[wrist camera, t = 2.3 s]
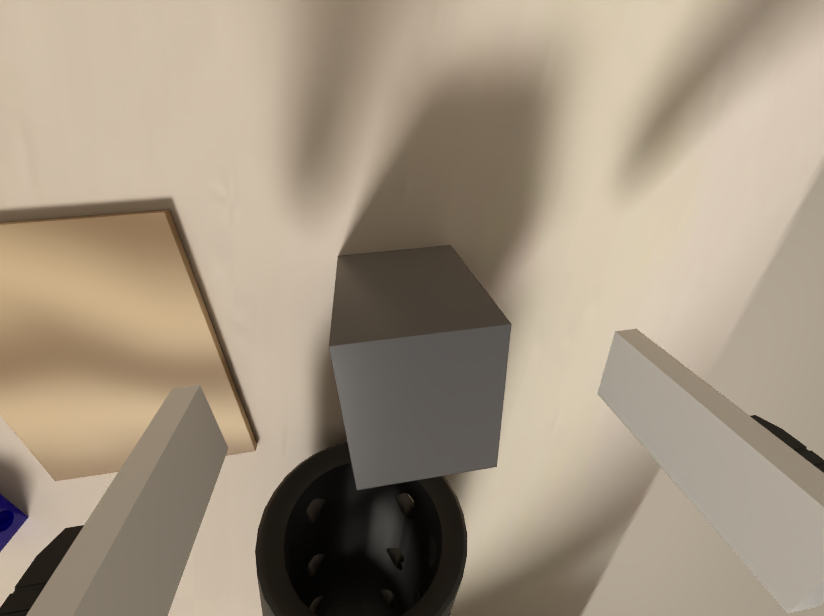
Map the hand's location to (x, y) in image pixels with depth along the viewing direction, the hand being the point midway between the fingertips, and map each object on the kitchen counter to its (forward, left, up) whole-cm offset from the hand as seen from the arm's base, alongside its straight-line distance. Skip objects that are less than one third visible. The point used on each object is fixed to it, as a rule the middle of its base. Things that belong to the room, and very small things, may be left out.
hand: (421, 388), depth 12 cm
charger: (0, 0, -6) cm, 6 cm away
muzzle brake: (-21, +5, -7) cm, 23 cm away
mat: (-1, +14, -6) cm, 15 cm away
